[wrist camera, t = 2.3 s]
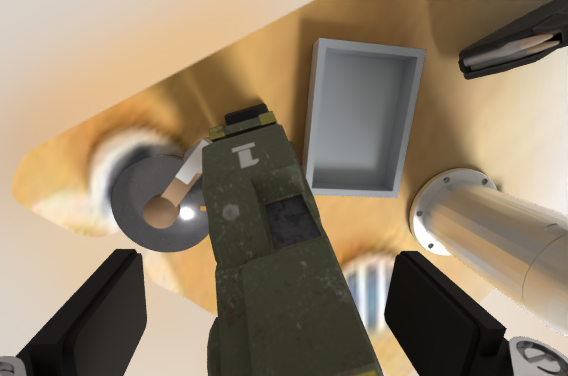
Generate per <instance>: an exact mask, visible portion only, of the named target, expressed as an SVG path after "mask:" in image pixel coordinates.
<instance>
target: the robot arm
mask: <svg viewBox="0 0 568 376" xmlns="http://www.w3.org/2000/svg"><path fill="white" fill-rule="evenodd" d="M409 222H410V229H411V232H412V234H413V236H414V238H415V239H416V241H417V242H418V243H419V244H420V245H421V246H422V247H424V248H425V249H426V250H428V251H430V252H432V253H434V254H438V255H453V256H454V257H455V258H457V259H458V260H459V261H461V262H462V263H463V264H465V265H466V266H467V267H469V268H470V269H471V270H473V271H474V272H475V273H477V274H478V275H479V276H481V277H482V278H483V279H485V280H486V281H487V282H489V283H490V284H491V285H493V286H494V287H495V288H497V289H498V290H499V291H501V292H502V293H503V294H505V295H506V296H507V297H509V298H510V299H511V300H513V301H514V302H515V303H517V304H518V305H519V306H521V307H522V308H523V309H525V310H526V311H528V312H529V313H530V314H532V315H533V316H534V317H536V318H537V319H538V320H540V321H541V322H542V323H544V324H545V325H546V326H548V327H549V328H551V329H552V330H554V331H556V332H558V333H560V334H562V335H564V336H566V337H568V215H565V214H562V213H559V212H557V211H554V210H551V209H548V208H545V207H542V206H539V205H537V204H534V203H531V202H528V201H525V200H522V199H519V198H517V197H514V196H511V195H508V194H505V193H502V192H499V191H498V190H497V188H496V186H495V184H494V183H493V181H492V180H491V179H490V178H489V177H488V176H486V175H485V174H483V173H481V172H478V171H476V170H472V169H468V168H456V169H450V170H447V171H445V172H442V173H440V174H438V175H436V176H435V177H433V178H432V179H431V180H429V181H428V182H427V183H426V184H425V185H424V186H423V187H422V188H421V189H420V191H419V192H418V194H417V195H416V197H415V199H414V201H413V204H412V207H411V210H410V218H409ZM146 313H147V312H146V299H145V286H144V274H143V261H142V255H141V253H137V252H136V250H135V249H116V250H114V252H113V253H112V254H111V255H110V256H109V257H108V258H107V259H106V260H105V261H104V262H103V263H102V264H101V266H100V267H99V268H98V269H97V270H96V271H95V272H94V273H93V274H92V275H91V276H90V277H89V279H88V280H87V281H86V282H85V283H84V284H83V285H82V286H81V287H80V288H79V289H78V290H77V291H76V292H75V293H74V294H73V295H72V297H70V299H69V300H68V301H67V302H66V303H65V304H64V305H63V306H62V307H61V308H60V309H59V310H58V311H57V313H56V314H55V315H54V316H53V317H52V318H51V319H50V320H49V321H48V322H47V323H46V324H45V325H44V326H43V328H42V329H41V330H40V331H39V332H38V333H37V334H36V335H35V336H34V337H33V338H32V339H31V341H30V342H29V343H28V344H27V345H26V346H25V347H24V348H23V349H22V350H21V351H20V352H19V354H17V355H16V357H14V356H2V357H0V376H123V375H124V373H125V371H126V369H127V367H128V365H129V362H130V360H131V358H132V356H133V354H134V352H135V350H136V347H137V345H138V343H139V341H140V339H141V337H142V335H143V332H144V330H145V328H146V323H147V314H146ZM384 317H385V321H386V323H387V325H388V326H389V328H390V330H391V331H392V333H393V334H394V336H395V338H396V339H397V341H398V342H399V344H400V346H401V347H402V349H403V350H404V352H405V354H406V355H407V357H408V358H409V360H410V362H411V363H412V365H413V366H414V368H415V370H416V371H417V373H418V374H419V376H568V358H567V357H566V356H564V355H563V354H561V353H560V352H559V351H557V350H556V349H554V348H552V347H550V346H549V345H546V344H544V343H542V342H540V341H538V340H534V339H531V338H528V337H521V336H519V337H513V338H512V339H510V341H507V340H506V339H505V338H504V334H505V331H506V329H507V328H505V327H504V326H503V325H502V324H501V323H500V322H499V321H497V320H496V319H495V318H494V317H493V316H491V314H489V313H488V312H487V311H486V310H485V309H484V308H483V307H481V306H480V305H479V304H478V303H477V302H476V301H475V300H473V299H472V298H471V297H470V296H469V295H468V294H467V293H465V292H464V291H463V290H462V289H461V288H460V287H458V286H457V285H456V284H455V283H454V282H453V281H452V280H450V279H449V278H448V277H447V276H446V275H445V274H444V273H442V272H441V271H440V270H439V269H438V268H437V267H436V266H434V265H433V264H432V263H431V262H430V261H429V260H428V259H426V258H425V257H424V256H423V255H422V254H421V253H420V252H418V251H402V252H401V253H400V254H399V255H397V256H396V258H395V263H394V268H393V273H392V277H391V282H390V287H389V292H388V297H387V302H386V307H385V312H384Z"/></svg>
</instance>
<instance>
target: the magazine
mask: <svg viewBox="0 0 568 376" xmlns="http://www.w3.org/2000/svg"><path fill="white" fill-rule="evenodd" d="M566 46H568V0H553V1H551V2H549V3H547V4H545V5H543V6H542V7H540V8H538V9H536V10H534V11H532V12H530V13H528V14H527V15H525V16H523V17H521V18H519V19H518V20H516V21H514V22H512V23H510V24H509V25H507V26H505V27H503V28H501V29H499V30H498V31H496V32H494V33H492V34H490V35H489V36H487V37H485V38H483V39H481V40H479V41H477V42H476V43H474V44H472V45H471V46H469V47H467V48H466V49H464V50H462V51H461V52H460V54H459V62H458V63H459V67H460V70H461V71H462V72H463V73H464V74H463V75H464V77H465V79H467V80H469V79H474V78H478V77H483V76H487V75H491V74H496V73H500V72H505V71H508V70H510V69H513V68H516V67H520V66H523V65H527V64H530V63H534V62H536V61H537V60H540V59H542V58H543V57H545V56H547V55H548V54H550V53H551V52H553V51H555V50H556V49H558V48H562V47H566Z"/></svg>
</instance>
